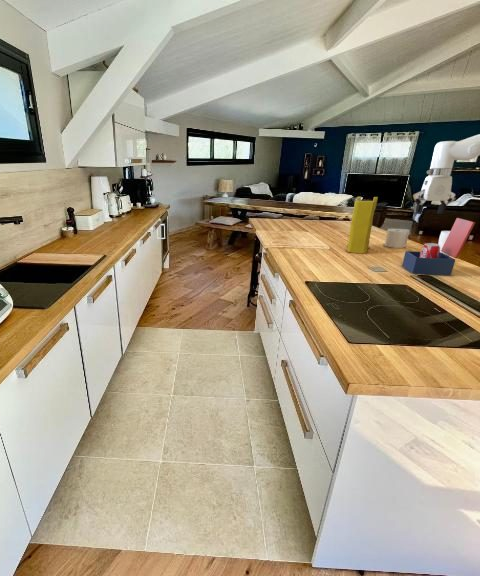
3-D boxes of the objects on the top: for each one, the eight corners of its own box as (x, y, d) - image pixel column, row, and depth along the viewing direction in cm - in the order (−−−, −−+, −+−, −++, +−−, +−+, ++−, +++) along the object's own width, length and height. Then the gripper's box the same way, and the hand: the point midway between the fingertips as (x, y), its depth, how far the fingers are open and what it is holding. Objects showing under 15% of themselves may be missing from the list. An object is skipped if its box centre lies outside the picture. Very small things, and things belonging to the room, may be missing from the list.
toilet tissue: (381, 246, 195) (384, 230, 191) (388, 243, 202) (391, 227, 199) (401, 249, 188) (404, 232, 184) (407, 245, 195) (411, 229, 192)
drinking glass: (433, 261, 163) (441, 232, 157) (433, 258, 168) (440, 230, 162) (450, 263, 159) (458, 233, 154) (449, 260, 164) (457, 231, 159)
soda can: (433, 272, 143) (440, 246, 139) (415, 269, 148) (421, 244, 143) (435, 269, 148) (442, 244, 144) (417, 266, 153) (423, 242, 148)
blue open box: (412, 273, 144) (416, 257, 141) (402, 265, 156) (405, 250, 153) (450, 275, 140) (455, 259, 138) (437, 267, 152) (441, 252, 150)
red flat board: (473, 222, 131) (475, 222, 131) (456, 217, 143) (458, 218, 143) (454, 258, 138) (456, 258, 137) (440, 251, 150) (442, 251, 149)
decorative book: (366, 254, 177) (376, 199, 167) (345, 252, 183) (354, 198, 172) (368, 247, 193) (378, 196, 183) (349, 245, 199) (357, 196, 188)
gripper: (424, 173, 130) (415, 215, 136) (467, 172, 130) (455, 214, 136) (413, 173, 137) (404, 212, 143) (453, 172, 137) (443, 212, 143)
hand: (429, 213), depth 139 cm, fingers open, 9 cm apart
